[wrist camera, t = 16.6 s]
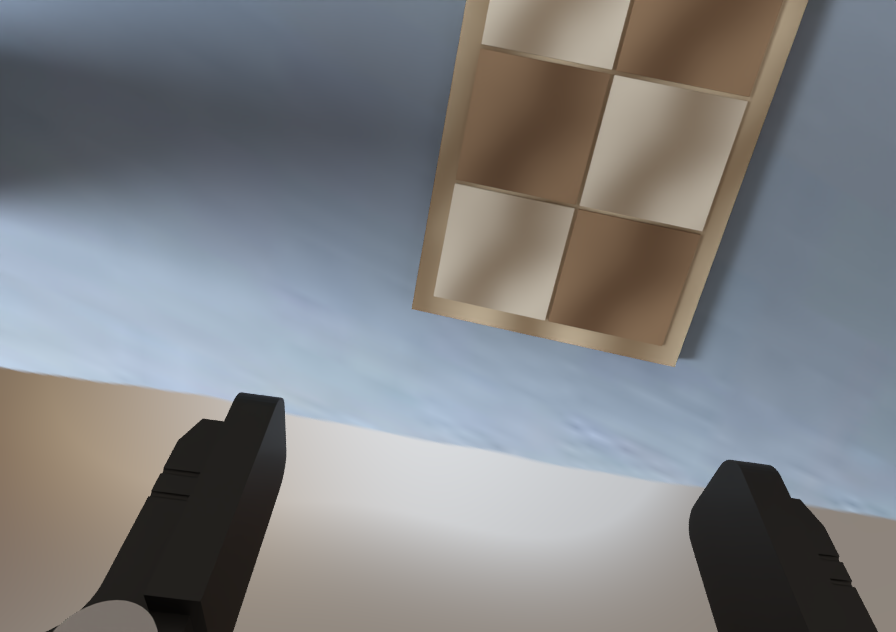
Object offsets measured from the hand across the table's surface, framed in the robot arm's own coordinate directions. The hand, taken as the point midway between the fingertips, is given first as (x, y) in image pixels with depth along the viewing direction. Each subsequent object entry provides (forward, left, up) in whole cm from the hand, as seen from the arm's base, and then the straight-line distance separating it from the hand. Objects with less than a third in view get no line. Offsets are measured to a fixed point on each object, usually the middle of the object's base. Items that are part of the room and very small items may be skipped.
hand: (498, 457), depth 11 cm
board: (+3, +8, -23) cm, 25 cm away
